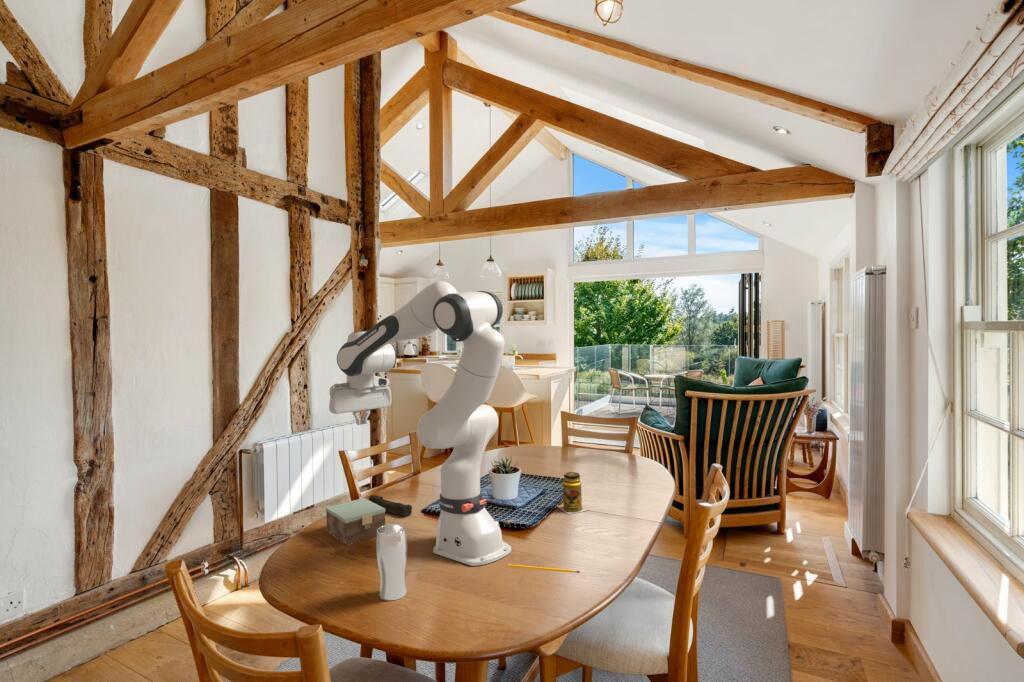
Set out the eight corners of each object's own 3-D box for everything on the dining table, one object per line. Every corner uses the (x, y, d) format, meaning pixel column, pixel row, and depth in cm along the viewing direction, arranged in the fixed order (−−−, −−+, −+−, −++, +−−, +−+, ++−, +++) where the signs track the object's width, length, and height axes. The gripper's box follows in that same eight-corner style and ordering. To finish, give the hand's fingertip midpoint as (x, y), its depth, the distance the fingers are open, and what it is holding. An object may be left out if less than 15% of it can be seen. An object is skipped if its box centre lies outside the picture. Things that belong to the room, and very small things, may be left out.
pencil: (579, 574, 123) (579, 571, 123) (507, 567, 127) (507, 565, 127) (579, 572, 124) (579, 570, 124) (508, 566, 128) (508, 563, 128)
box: (386, 534, 150) (386, 512, 149) (348, 546, 141) (347, 523, 141) (363, 521, 160) (363, 501, 160) (327, 532, 152) (326, 510, 152)
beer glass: (380, 587, 118) (378, 524, 118) (410, 585, 119) (408, 522, 119) (374, 603, 111) (373, 535, 111) (406, 600, 112) (404, 534, 112)
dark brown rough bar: (413, 515, 166) (412, 501, 166) (403, 519, 163) (403, 505, 163) (375, 505, 177) (374, 492, 177) (365, 508, 173) (365, 495, 173)
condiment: (568, 514, 163) (567, 477, 163) (556, 506, 171) (555, 471, 171) (587, 511, 166) (587, 474, 166) (574, 503, 174) (574, 468, 173)
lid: (386, 518, 150) (386, 509, 150) (347, 530, 141) (346, 520, 141) (364, 506, 161) (363, 497, 160) (325, 516, 152) (325, 507, 152)
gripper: (334, 385, 152) (334, 430, 152) (393, 379, 166) (394, 421, 166) (325, 383, 156) (326, 427, 157) (384, 378, 170) (384, 418, 171)
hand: (361, 424), depth 162 cm, fingers closed
